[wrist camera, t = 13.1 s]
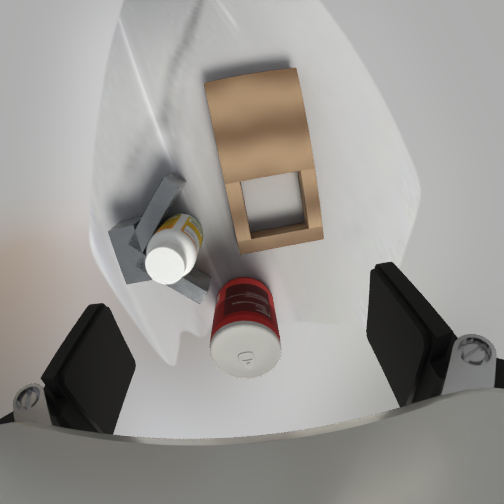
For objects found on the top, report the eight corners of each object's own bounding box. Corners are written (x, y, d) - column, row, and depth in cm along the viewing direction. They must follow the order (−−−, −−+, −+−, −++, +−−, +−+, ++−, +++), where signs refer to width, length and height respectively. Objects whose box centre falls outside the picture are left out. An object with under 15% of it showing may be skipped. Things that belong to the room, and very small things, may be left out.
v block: (183, 170, 34) (176, 174, 30) (213, 286, 39) (210, 302, 36) (111, 190, 34) (97, 196, 30) (146, 297, 40) (138, 313, 36)
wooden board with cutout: (206, 86, 30) (203, 83, 28) (292, 72, 29) (296, 67, 27) (240, 247, 37) (240, 254, 35) (318, 232, 37) (323, 238, 35)
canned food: (235, 332, 42) (234, 387, 32) (205, 290, 40) (193, 342, 29) (283, 310, 41) (294, 363, 31) (255, 265, 38) (259, 312, 28)
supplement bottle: (158, 248, 37) (135, 283, 28) (166, 208, 35) (141, 233, 26) (198, 258, 38) (186, 297, 29) (208, 218, 36) (197, 247, 27)
